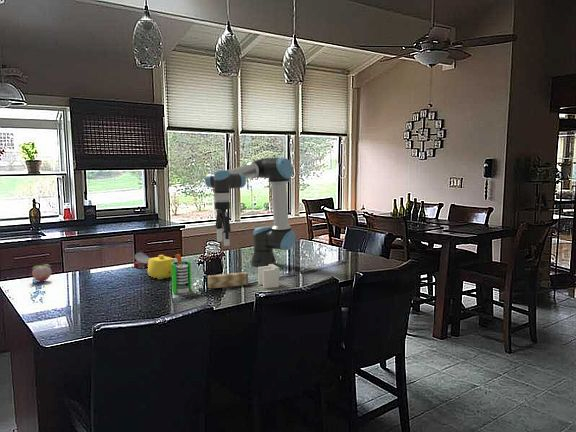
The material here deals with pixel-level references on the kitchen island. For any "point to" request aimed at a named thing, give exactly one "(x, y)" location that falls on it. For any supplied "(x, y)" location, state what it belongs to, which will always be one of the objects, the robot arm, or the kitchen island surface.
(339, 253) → the kitchen island surface
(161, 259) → the teapot
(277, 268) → the white stepped block
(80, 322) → the kitchen island surface
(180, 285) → the green-shelled ribbed roller
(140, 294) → the kitchen island surface
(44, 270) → the decorative fruit
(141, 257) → the canned food
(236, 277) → the rail
